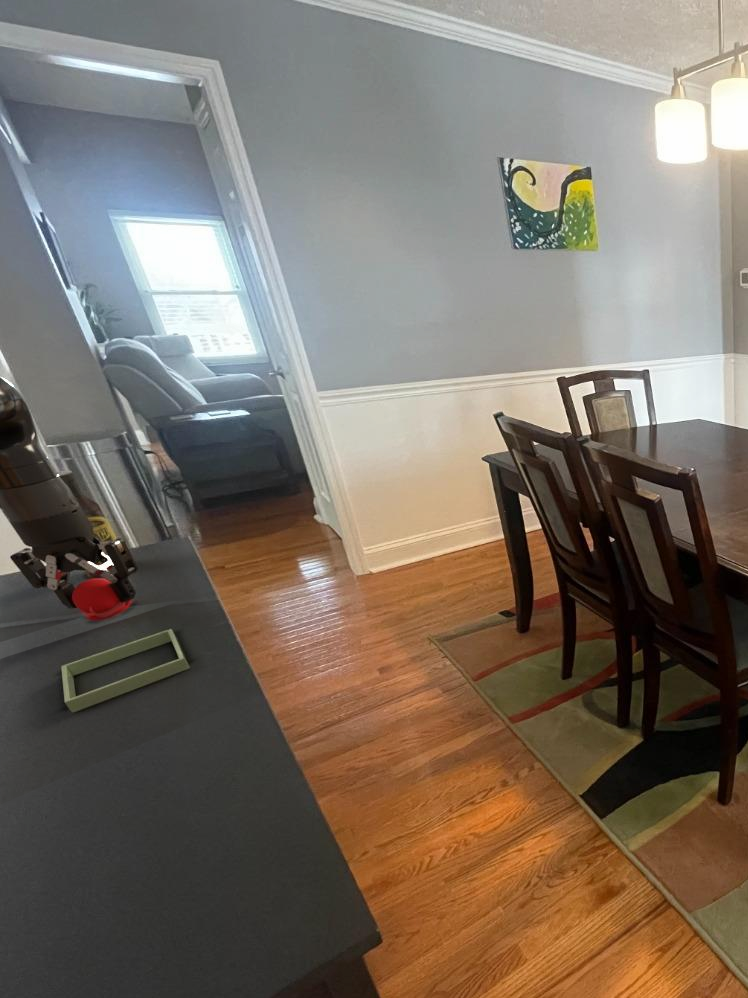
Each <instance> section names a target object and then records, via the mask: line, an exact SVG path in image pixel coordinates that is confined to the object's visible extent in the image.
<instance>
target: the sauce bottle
mask: <svg viewBox="0 0 748 998" xmlns="http://www.w3.org/2000/svg"><path fill="white" fill-rule="evenodd" d="M56 472H57V473H58V475H59V476H60V478H61V479H62V480H63V481H64V483H65V484H66V485H67V486H68V487H69V489H70V490H71V492H72V493H73V495H74V497H75V498H76V500H77V502H78V503H79V505H80V507H81V508H82V510H83V511H84V513H85V515H86V516H87V518H88V520H89V521H90V523H91V525H92V526H93V534H94V536H95V537H96V538H97V539H99V540H100V541H101V542H105V541H113V540H115V539H117V536H116V533H115V531H114V530H113V527H112V526H111V524H110V522H109V520H108V518H107V517H106V516H105V514H104V512H103V510H102V508H101V506H100V505H99V504H98V502H95V501H94V500H93V499H91V498H89V496H86V495H85V494H84V492H83V491H82V490H81V487H80V486H79V484H78V482H77V479H76V478H77V477H76V475H75V473H74V472H73V471H72V470H61V471H56ZM102 552H103V553H105V552H104V551H103V550H102ZM107 556H108V555H107ZM102 564H103V563H102V562H100V561H99V563H98V564H96V565H98V566H100V565H102ZM107 570H108V569H107ZM108 571H110V570H108ZM82 572H83V573H85V576H86V577H87V578H90V579H97V578H103V577H102V576H100V575H95V574H92V573H91V572H89V571H88V570H82ZM110 572H111V573H113V572H112V571H110ZM113 574H114V573H113Z"/></svg>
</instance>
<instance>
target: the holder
mask: <svg viewBox="0 0 748 998" xmlns="http://www.w3.org/2000/svg"><path fill="white" fill-rule="evenodd" d="M167 643H172V645H173V647H174V650H175V652H176V655H177V657H178V659H174V660H172V661H169V662H166V663H164V664H161V665H157V666H156V667H152V668H150V669H148V670H144V671H142V672H138V673H136V674H134V675H131V676H128V677H126V678H123V679H120V680H117V681H115V682H112V683H109V684H107V685H104V686H101V687H99V688H98V687H97V688H95V689H93V690H90V691H88V692H85V693H82V694H79V695H76V694H77V693H76V689H75V688H76V687H75V679H74V676H77V675H80V674H82V673H85V672H88V671H91V670H94V669H97V668H99V667H102V666H105V665H108V664H111V663H114V662H117V661H120V660H123V659H124V658H128V657H131V656H133V655H136V654H139V653H142V652H145V651H147V650H151V649H154V648H156V647H160V646H162V645H165V644H167ZM60 669H61V678H62V690H63V699H64V700H63V701H64V703H65V705H66V707H67V709H68V710H69V711H70V712H71V713H72V714H74V713H76V712H79V711H82V710H85V709H87V708H90V707H92V706H96V705H97V704H100V703H103V702H105V701H108V700H111V699H112V698H116V697H118V696H121V695H124V694H126V693H129V692H132V691H134V690H136V689H139V688H142V687H144V686H147V685H150V684H153V683H156V682H158V681H160V680H163V679H165V678H168V677H172V676H174V675H176V674H180V673H181V672H184V671H187V670H189V669H191V667H190V664H189V663H188V660H187V658H186V656H185V653H184V652H183V649H182V646H181V644H180V642H179V639H178V638H177V636H176V634H175V632H174V631H173V629H172V628H170V629H166V630H163V631H159V632H157V633H155V634H152V635H149V636H145V637H143V638H140V639H139V638H138V639H136V640H134V641H131V642H128V643H125V644H122V645H120V646H116V647H113V648H110V649H108V650H104V651H101V652H99V653H95V654H93V655H90V656H87V657H83V658H81V659H78V660H75V661H72V662H70V663H66V664H63V665H61V667H60Z"/></svg>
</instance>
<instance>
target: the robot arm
mask: <svg viewBox="0 0 748 998" xmlns="http://www.w3.org/2000/svg"><path fill="white" fill-rule="evenodd" d="M57 472H58V471H57V470H56V468H55V466H54V465H53V463H52V462H51V460H50V458H49V457H48V455H47V454H46V452H45V451H44V449H43V448H42V445H41V444H40V439H39V435H38V431H37V428H36V425H35V421H34V419H33V416H32V413H31V410H30V408H29V405H28V404H27V401H26V399H25V398H24V396H23V395H22V394H21V393H20V391H19V390H18V389H17V388H16V387H15V386H14V385H13V384H12V383H11V382H9V381H8V380H7V379H5V378H3V377H1V376H0V511H1V512H2V513H3V516H4V517H5V519H7V521H8V523H9V524H10V525H11V527H12V529H13V530H14V531H15V533H16V534H17V536H18V537H19V539H20V540H21V541H22V543H23V544H24V545H25V546H27V547H25V548H23V549H21V550H19V551H17V552H15V553H13V554H11V555H10V557H9V558H10V560H11V561H12V562H13V564H14V565H15V566H16V567H17V569H18V570H19V571H20V573H21V574H22V575H23V576H24V577H25V579H26V580H27V581H28V583H30V585H31V586H32V587H33V588H36V589H40V588H48V589H49V590H52V591H53V592H54V594H55V595H56V597H57V598H58V599H59V601H60V602H61V604H62V605H63V606H65V607H66V608H67V609H69V610H73V609H78V608H77V607H76V606H75V604H74V603H73V601H72V594H73V591H74V589H75V588H76V586H75V585H74V583H73V582H70V578H71V577H70V576H71V572H74V571H83V570H88V571H89V572H91V573H92V574H95V575H100V576H102V577H101V578H105V579H106V580H108V581H109V582H111V583H110V586H111V587H112V589H113V591H114V592H115V594H116V595H117V597H118V598H119V600H120V602H129V601H130V600H134V599H135V596H136V595H137V594H136V590H135V588H134V586H133V584H131V581H130V580H129V578H128V577H130V576H131V575H132V574H134V573H136V572H138V571H139V567H138V565H137V563H136V561H135V559H134V558H133V555H132V553H131V552H130V549H129V548H128V545H127V543H126V540H124V538H123V539H122V538H121V537H119V538H117V539H115V540H113V541H105V542H101V541H100V540H99V539H97V538H96V537H95V536H94V534H93V526H92V525H91V523H90V521H89V520H88V518H87V516H86V515H85V513H84V511H83V510H82V508H81V507H80V505H79V503H78V502H77V500H76V498H75V497H74V495H73V493H72V492H71V490H70V489H69V487H68V486H67V485H66V484H65V483H64V481H63V480H62V479H61V478H60V476H59V475H58V473H57ZM102 550H103V551H104V552H105V553H103V552H102ZM107 555H108V556H107ZM99 561H100V562H102V563H103V564H102V565H100V566H98V565H96V564H98V563H99ZM44 563H45V564H46V565H45V564H44ZM107 569H108V570H110V571H112V572H113V573H114V574H113V573H111V572H110V571H108V570H107Z"/></svg>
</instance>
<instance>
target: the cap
mask: <svg viewBox="0 0 748 998" xmlns="http://www.w3.org/2000/svg"><path fill="white" fill-rule="evenodd" d="M110 583H111V582H109V581H108V580H106V579H105V578H103V577H101V578H90V579H85V580H83V581H81V582H80V583H78V584H77V585H76V586H75V589H74V591H73V594H72V601H73V603H74V604H75V606H76V607H77V608H76V609H78V610H79V611H80V612H81V613H82V614H83V615H84V616H85V617H86V618H87V620H89V621H103V620H107V619H110V618H112V617H115V616H117V615H119V614H121V613H123V612H124V611H126V610H127V609H128V608H129V607H130V606H131V604H132V603H133V599H131V600H130V601H129V602H120V600H119V598H118V597H117V595H116V594H115V592H114V591H113V589H112V587H111V586H110Z"/></svg>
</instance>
